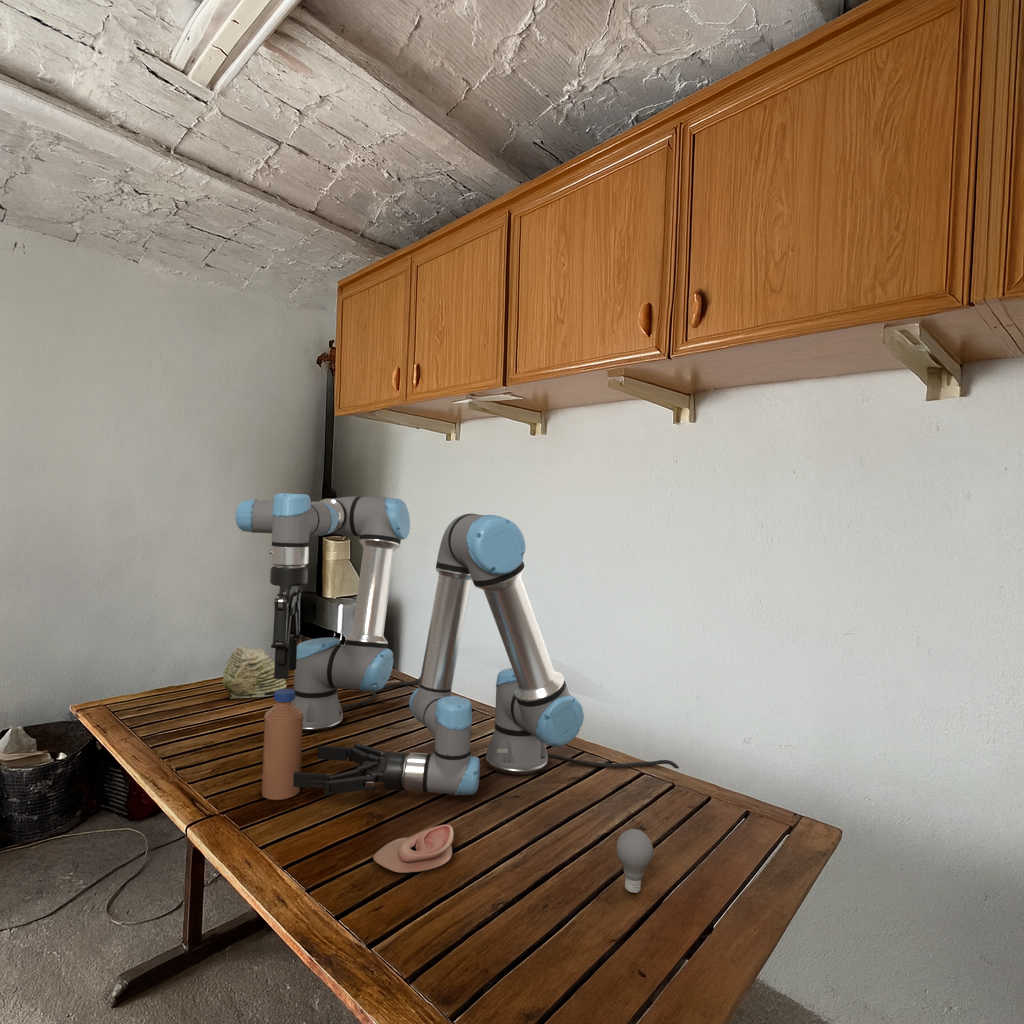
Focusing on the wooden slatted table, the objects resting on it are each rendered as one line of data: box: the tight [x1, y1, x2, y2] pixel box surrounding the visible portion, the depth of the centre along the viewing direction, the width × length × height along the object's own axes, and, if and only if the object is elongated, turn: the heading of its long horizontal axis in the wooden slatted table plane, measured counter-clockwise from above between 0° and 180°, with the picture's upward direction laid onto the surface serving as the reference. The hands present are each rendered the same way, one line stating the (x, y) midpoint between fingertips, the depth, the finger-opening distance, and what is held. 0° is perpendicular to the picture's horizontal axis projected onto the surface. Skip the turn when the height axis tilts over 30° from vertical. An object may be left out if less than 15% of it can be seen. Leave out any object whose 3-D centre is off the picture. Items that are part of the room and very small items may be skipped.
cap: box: [273, 687, 295, 703], centre depth 135 cm, size 4×4×2 cm
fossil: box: [222, 646, 288, 699], centre depth 198 cm, size 9×18×15 cm, turn 132°
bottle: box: [261, 701, 303, 801], centre depth 135 cm, size 8×8×21 cm
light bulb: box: [615, 828, 654, 894], centre depth 106 cm, size 6×6×10 cm
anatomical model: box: [372, 824, 455, 874], centre depth 113 cm, size 13×4×12 cm
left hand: (285, 673), depth 135 cm, fingers open, 6 cm apart
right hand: (306, 765), depth 134 cm, fingers open, 13 cm apart
